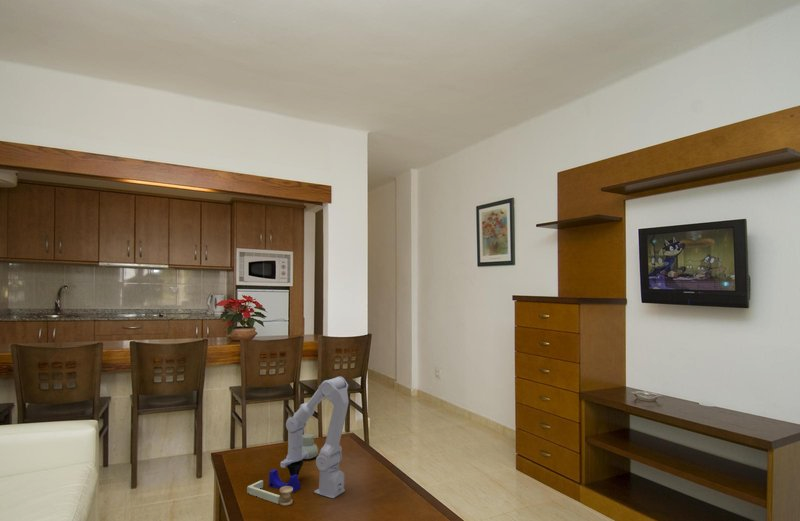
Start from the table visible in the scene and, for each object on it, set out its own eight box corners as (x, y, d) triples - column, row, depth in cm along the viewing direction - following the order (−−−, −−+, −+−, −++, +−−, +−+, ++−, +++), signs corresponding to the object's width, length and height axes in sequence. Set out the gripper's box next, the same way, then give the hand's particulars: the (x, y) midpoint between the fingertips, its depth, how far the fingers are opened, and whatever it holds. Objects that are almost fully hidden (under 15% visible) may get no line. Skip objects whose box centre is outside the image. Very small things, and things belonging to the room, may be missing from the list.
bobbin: (295, 501, 171) (295, 487, 172) (286, 506, 167) (286, 492, 167) (285, 498, 174) (286, 484, 174) (276, 503, 170) (276, 489, 170)
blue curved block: (299, 489, 182) (300, 473, 183) (292, 493, 178) (292, 477, 179) (276, 482, 188) (277, 467, 188) (268, 486, 184) (269, 471, 184)
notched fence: (291, 496, 175) (291, 489, 175) (277, 504, 169) (278, 497, 169) (260, 486, 183) (261, 480, 184) (247, 493, 177) (247, 486, 177)
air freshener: (295, 454, 218) (295, 433, 219) (312, 452, 222) (312, 430, 223) (301, 462, 209) (302, 440, 209) (319, 459, 213) (319, 437, 213)
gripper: (300, 439, 197) (299, 471, 196) (275, 449, 184) (274, 483, 184) (312, 442, 193) (311, 475, 193) (288, 452, 181) (287, 488, 180)
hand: (294, 479), depth 188 cm, fingers closed
